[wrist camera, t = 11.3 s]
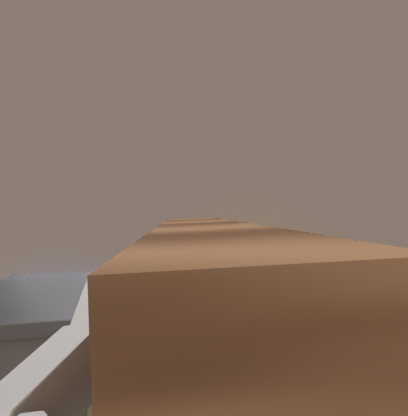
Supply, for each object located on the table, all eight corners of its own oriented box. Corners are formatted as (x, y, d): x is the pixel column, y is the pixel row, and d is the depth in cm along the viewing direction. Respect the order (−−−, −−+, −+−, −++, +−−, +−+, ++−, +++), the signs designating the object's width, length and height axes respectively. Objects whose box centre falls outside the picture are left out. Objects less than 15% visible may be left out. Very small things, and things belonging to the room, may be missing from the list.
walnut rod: (468, 613, 3) (452, 254, 3) (99, 682, 3) (86, 275, 3) (214, 262, 25) (213, 217, 25) (169, 265, 25) (167, 219, 25)
